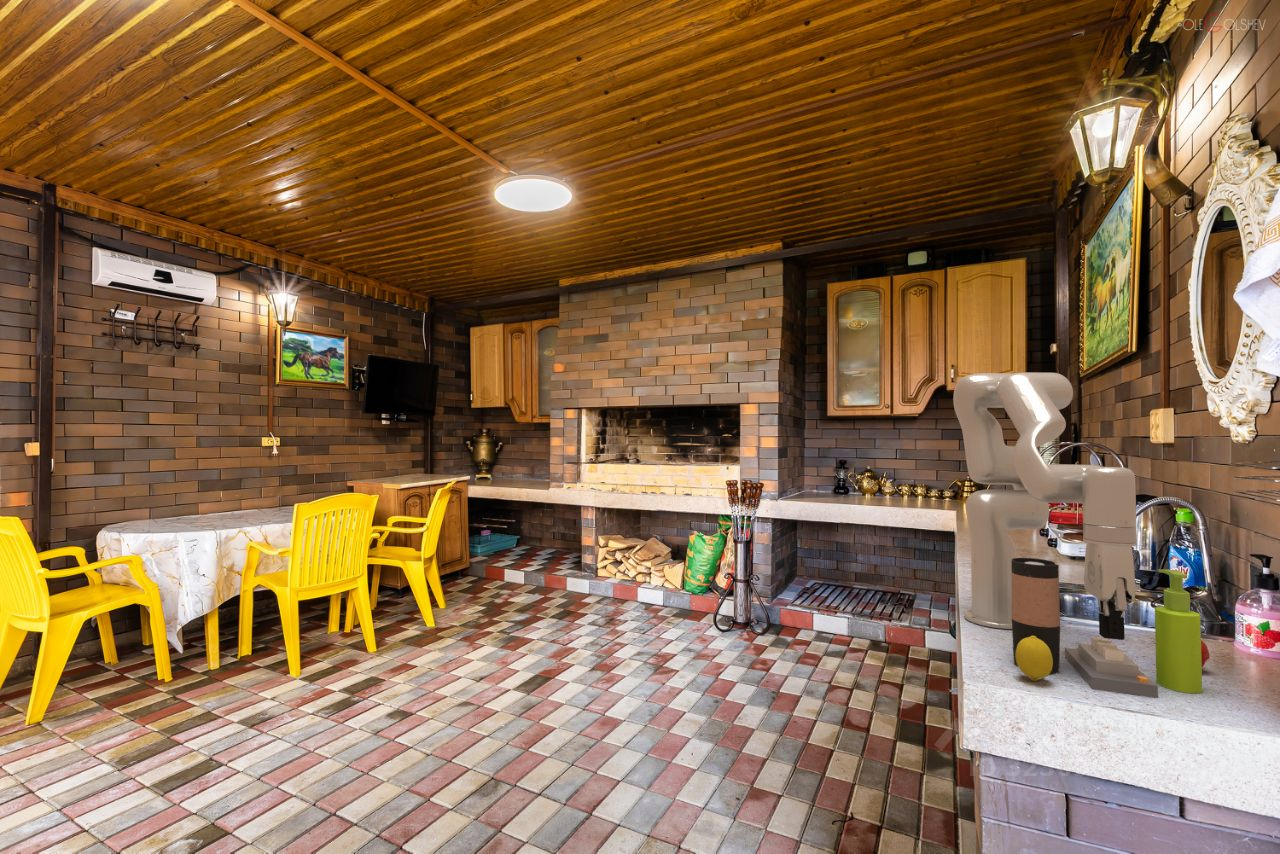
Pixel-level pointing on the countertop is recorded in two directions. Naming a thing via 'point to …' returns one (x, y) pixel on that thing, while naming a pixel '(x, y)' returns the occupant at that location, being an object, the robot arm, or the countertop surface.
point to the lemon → (1034, 658)
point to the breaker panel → (1110, 679)
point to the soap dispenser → (1178, 639)
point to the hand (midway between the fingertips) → (1111, 637)
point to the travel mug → (1036, 604)
